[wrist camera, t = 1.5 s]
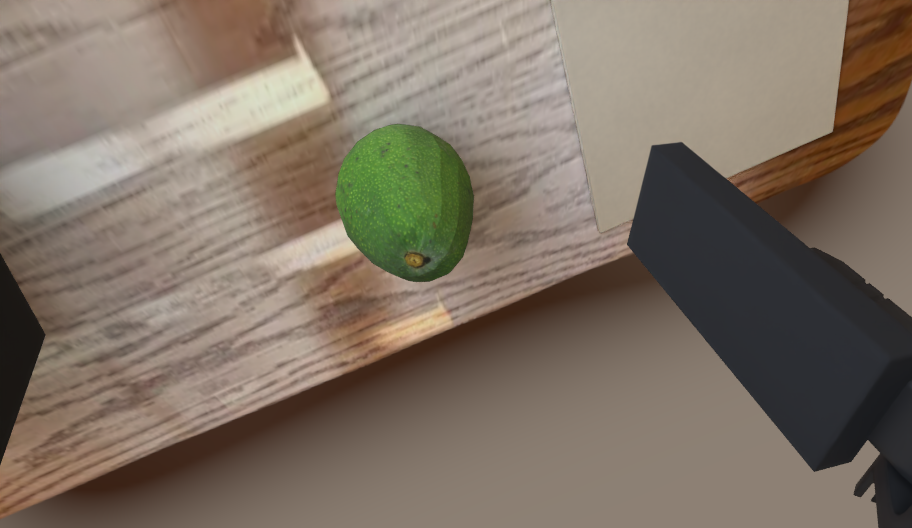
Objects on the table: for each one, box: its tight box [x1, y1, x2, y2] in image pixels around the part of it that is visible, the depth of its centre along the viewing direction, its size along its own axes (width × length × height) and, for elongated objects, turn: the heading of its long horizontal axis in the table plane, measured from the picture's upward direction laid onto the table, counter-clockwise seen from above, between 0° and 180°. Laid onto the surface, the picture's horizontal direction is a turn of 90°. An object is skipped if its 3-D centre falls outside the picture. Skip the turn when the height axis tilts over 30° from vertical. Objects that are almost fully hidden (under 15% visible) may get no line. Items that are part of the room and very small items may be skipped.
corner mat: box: [550, 0, 849, 233], centre depth 42 cm, size 20×20×1 cm
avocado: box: [336, 124, 474, 282], centre depth 35 cm, size 8×8×12 cm
